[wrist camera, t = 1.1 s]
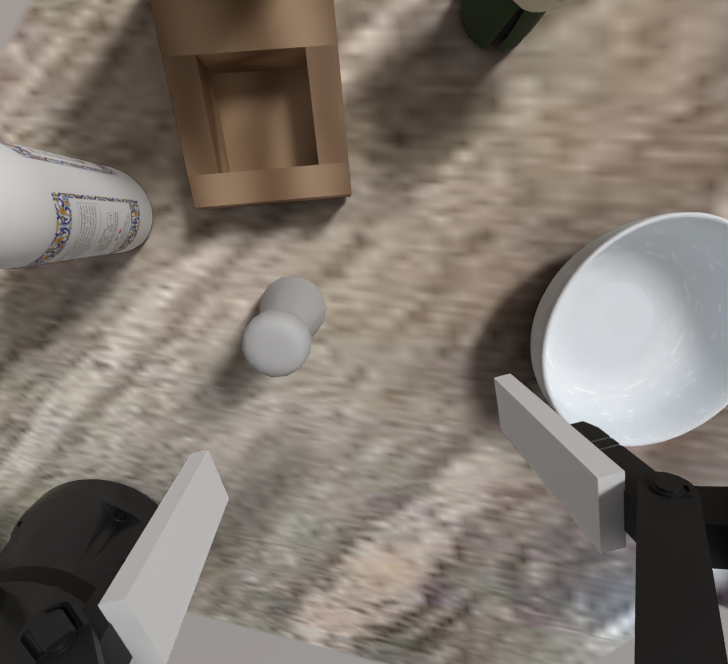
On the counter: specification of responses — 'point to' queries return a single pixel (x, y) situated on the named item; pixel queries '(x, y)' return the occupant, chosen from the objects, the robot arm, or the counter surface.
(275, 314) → the salt shaker
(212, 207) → the socket station
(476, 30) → the character mug
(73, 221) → the bath foam
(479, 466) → the counter surface
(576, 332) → the serving bowl
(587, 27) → the counter surface
